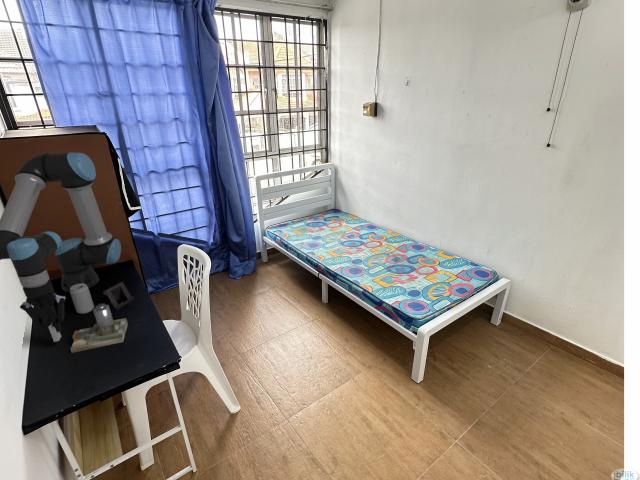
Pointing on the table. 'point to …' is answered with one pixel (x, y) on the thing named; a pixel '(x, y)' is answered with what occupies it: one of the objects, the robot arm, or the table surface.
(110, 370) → the table surface
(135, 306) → the table surface
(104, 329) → the metal bottle
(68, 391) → the table surface
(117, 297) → the dark hollow square block
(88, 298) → the beverage can
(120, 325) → the dock mount
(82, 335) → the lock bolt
